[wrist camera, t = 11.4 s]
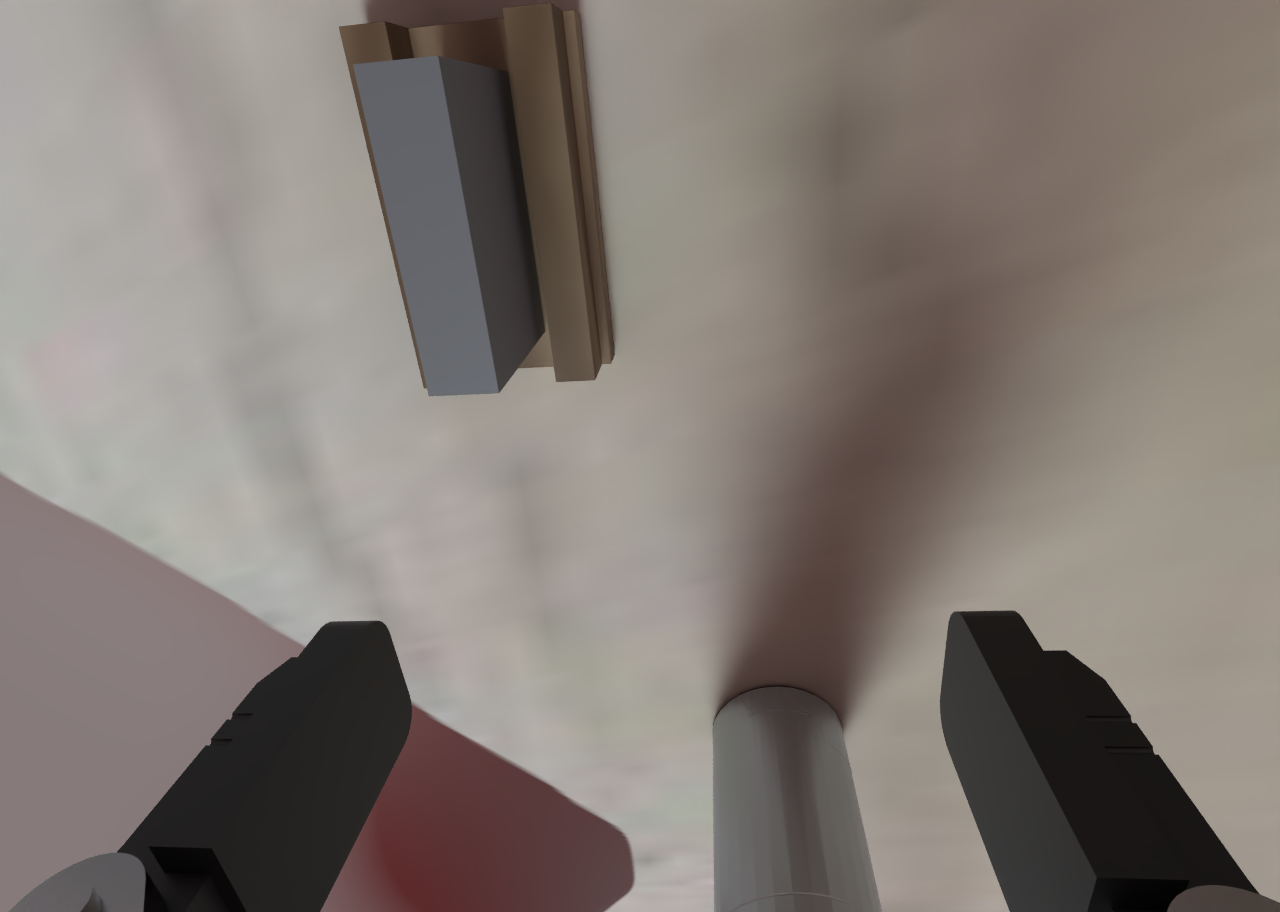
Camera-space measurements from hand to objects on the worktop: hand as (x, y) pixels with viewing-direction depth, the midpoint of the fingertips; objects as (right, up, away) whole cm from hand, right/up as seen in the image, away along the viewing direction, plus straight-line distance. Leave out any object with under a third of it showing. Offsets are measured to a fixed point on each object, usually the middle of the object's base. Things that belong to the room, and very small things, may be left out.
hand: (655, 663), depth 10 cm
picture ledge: (-7, +16, +25) cm, 30 cm away
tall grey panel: (-7, +15, +24) cm, 29 cm away
